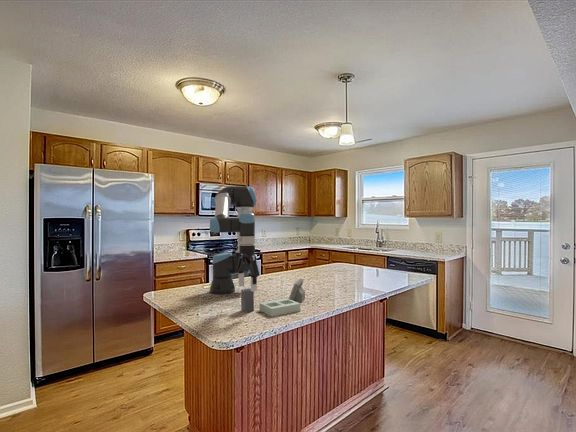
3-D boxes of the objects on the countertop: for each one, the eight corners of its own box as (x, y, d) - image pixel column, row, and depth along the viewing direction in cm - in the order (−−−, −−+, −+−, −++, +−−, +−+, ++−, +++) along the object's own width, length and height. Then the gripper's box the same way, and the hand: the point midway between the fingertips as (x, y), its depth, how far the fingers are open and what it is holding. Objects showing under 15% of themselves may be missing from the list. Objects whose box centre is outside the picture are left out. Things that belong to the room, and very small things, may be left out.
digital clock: (295, 295, 186) (295, 277, 186) (309, 297, 182) (309, 278, 182) (282, 302, 171) (282, 282, 171) (298, 304, 167) (298, 284, 167)
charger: (241, 310, 158) (241, 287, 158) (249, 308, 160) (249, 286, 160) (245, 312, 154) (245, 289, 154) (253, 310, 157) (253, 288, 157)
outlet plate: (259, 310, 158) (259, 303, 158) (286, 305, 166) (286, 298, 166) (271, 316, 148) (271, 308, 148) (300, 310, 156) (300, 303, 156)
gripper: (229, 243, 166) (230, 285, 165) (251, 246, 145) (252, 294, 144) (243, 243, 170) (243, 283, 169) (266, 246, 149) (266, 292, 149)
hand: (247, 288), depth 157 cm, fingers open, 13 cm apart
